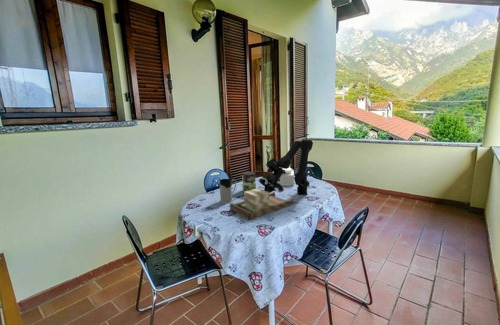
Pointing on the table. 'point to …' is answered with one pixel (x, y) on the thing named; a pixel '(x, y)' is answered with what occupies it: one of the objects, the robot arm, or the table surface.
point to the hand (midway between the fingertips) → (263, 195)
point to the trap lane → (249, 213)
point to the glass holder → (226, 190)
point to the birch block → (256, 198)
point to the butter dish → (287, 178)
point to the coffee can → (248, 181)
